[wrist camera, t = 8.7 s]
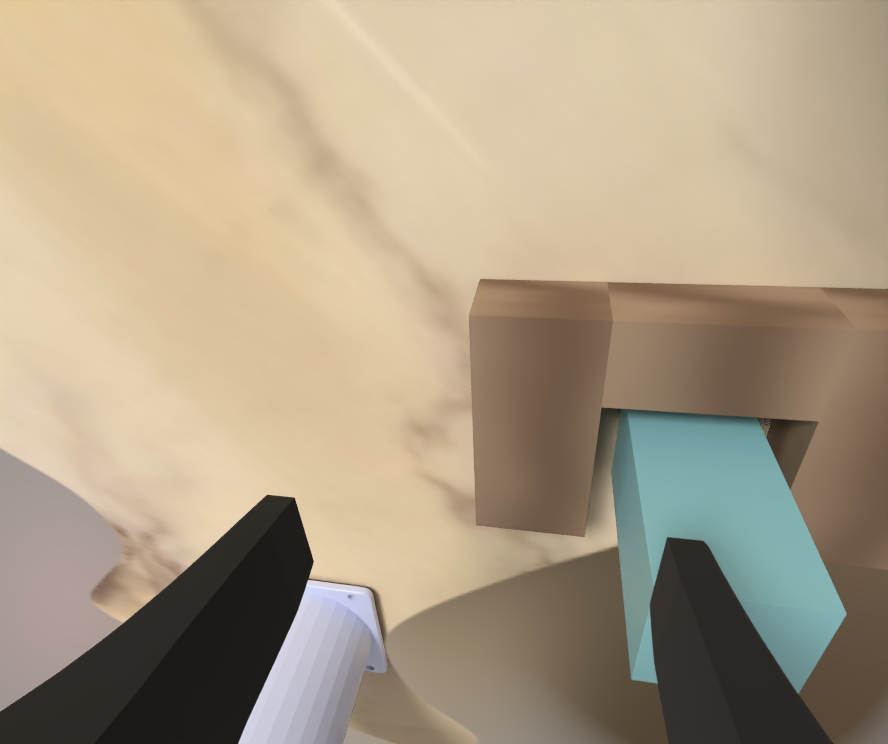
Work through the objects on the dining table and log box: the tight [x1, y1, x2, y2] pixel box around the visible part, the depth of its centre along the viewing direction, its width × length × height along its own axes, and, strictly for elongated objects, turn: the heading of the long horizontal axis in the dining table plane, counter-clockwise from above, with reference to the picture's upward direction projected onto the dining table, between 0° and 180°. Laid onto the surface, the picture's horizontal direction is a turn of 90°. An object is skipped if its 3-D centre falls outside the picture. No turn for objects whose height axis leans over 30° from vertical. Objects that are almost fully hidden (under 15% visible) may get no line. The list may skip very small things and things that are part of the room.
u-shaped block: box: [469, 279, 888, 570], centre depth 18 cm, size 14×9×2 cm, turn 93°
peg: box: [611, 409, 846, 694], centre depth 17 cm, size 4×4×8 cm
